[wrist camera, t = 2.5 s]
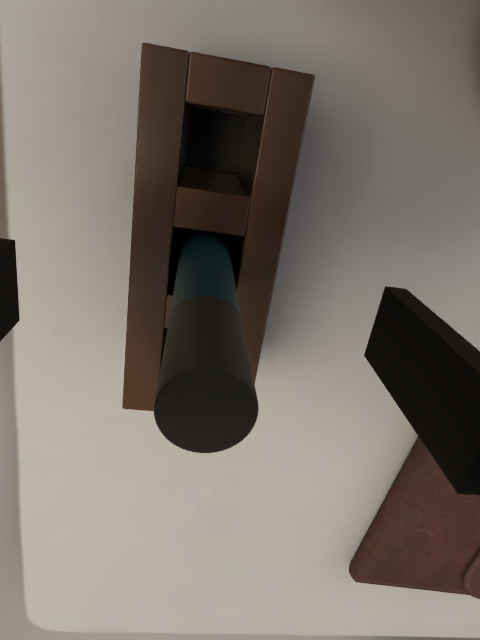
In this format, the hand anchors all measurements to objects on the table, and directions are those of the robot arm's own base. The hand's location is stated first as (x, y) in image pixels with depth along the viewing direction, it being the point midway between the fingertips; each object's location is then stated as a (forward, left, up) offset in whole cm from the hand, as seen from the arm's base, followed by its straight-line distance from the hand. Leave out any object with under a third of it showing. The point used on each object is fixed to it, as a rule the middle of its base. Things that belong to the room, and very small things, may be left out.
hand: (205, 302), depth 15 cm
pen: (0, 0, -11) cm, 11 cm away
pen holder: (0, 0, -11) cm, 11 cm away
